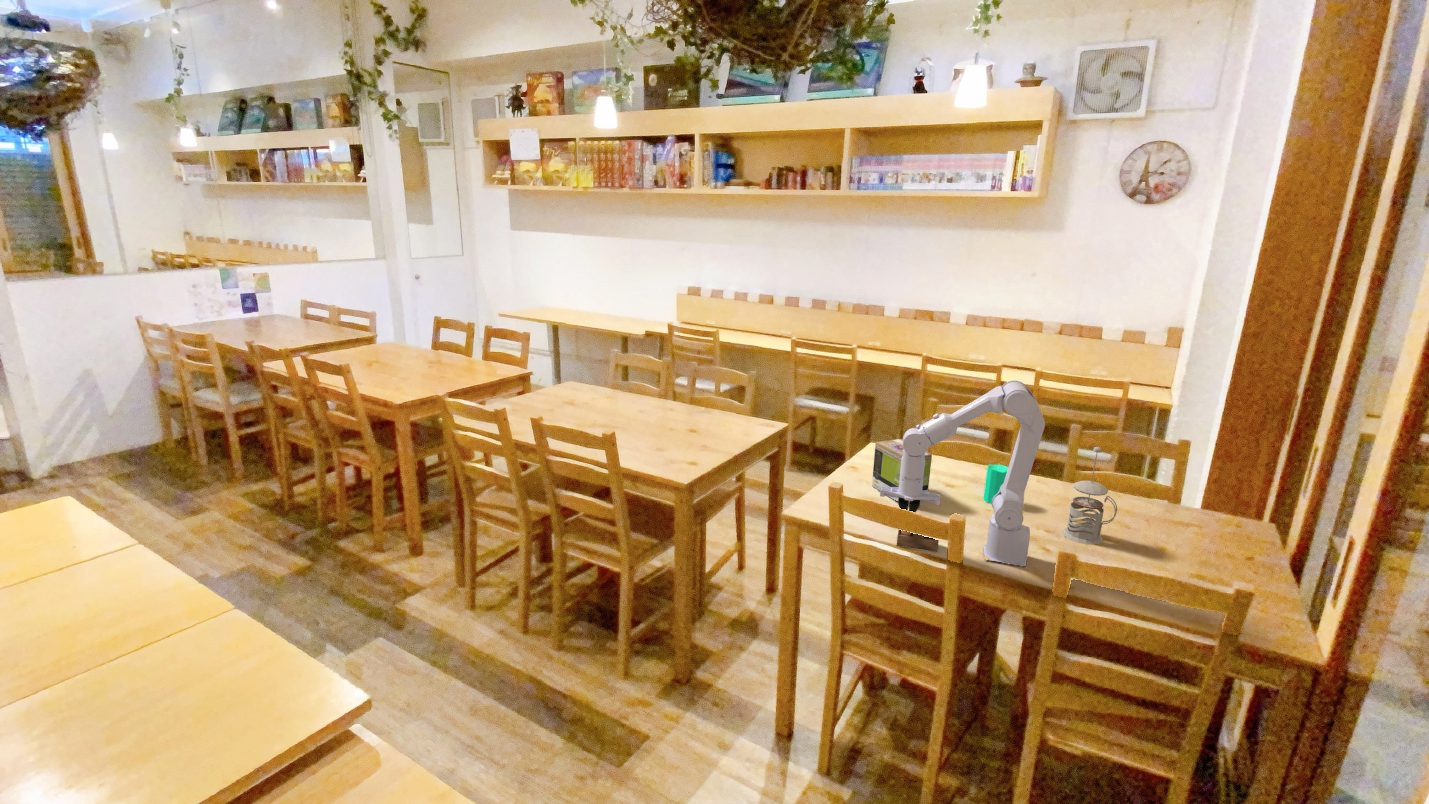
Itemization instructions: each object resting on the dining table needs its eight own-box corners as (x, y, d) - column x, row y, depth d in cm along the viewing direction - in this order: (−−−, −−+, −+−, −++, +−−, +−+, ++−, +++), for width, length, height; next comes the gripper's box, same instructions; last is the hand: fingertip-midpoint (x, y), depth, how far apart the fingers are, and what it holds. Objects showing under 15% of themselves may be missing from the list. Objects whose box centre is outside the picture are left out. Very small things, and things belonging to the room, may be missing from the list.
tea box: (928, 500, 204) (933, 453, 199) (900, 505, 200) (904, 457, 196) (897, 481, 217) (901, 437, 213) (870, 486, 213) (874, 441, 209)
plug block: (937, 544, 178) (939, 533, 177) (937, 552, 174) (938, 541, 173) (897, 538, 181) (898, 527, 180) (896, 545, 177) (897, 535, 176)
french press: (1066, 523, 190) (1081, 437, 183) (1114, 536, 183) (1131, 448, 176) (1057, 536, 183) (1072, 447, 175) (1106, 550, 175) (1124, 458, 168)
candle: (981, 502, 203) (986, 464, 199) (984, 494, 208) (989, 457, 204) (1003, 506, 200) (1009, 468, 197) (1005, 498, 205) (1011, 461, 202)
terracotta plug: (913, 535, 179) (914, 522, 178) (912, 541, 176) (913, 529, 175) (899, 533, 180) (900, 520, 179) (898, 539, 177) (899, 526, 176)
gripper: (880, 477, 171) (876, 527, 175) (941, 485, 167) (936, 536, 171) (883, 467, 178) (879, 515, 182) (942, 475, 173) (936, 524, 177)
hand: (906, 525), depth 177 cm, fingers closed, pressing on terracotta plug
